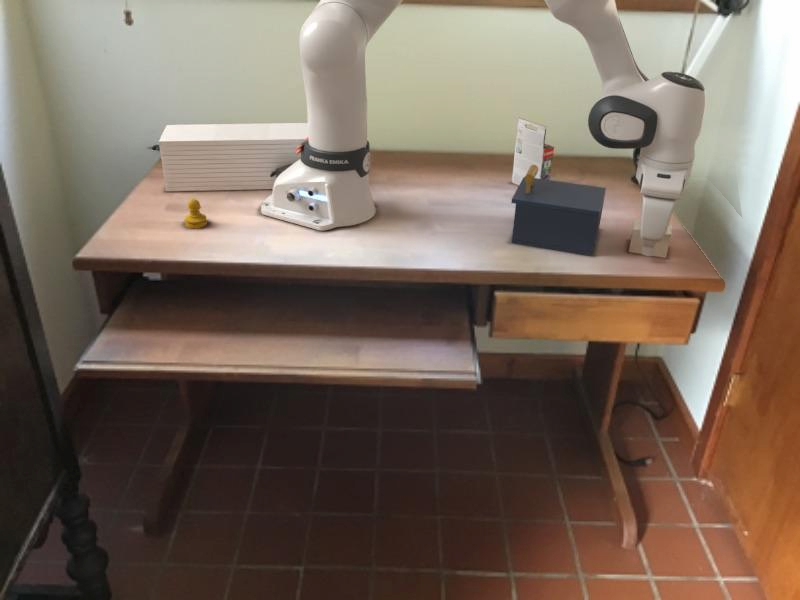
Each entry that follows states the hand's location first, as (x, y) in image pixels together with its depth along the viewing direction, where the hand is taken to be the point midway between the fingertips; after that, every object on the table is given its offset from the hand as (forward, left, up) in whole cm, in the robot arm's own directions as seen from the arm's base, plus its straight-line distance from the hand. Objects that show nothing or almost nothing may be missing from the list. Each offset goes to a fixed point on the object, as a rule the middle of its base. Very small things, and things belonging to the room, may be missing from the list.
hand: (648, 243), depth 136 cm
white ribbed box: (-83, +3, -2) cm, 84 cm away
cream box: (0, 0, -1) cm, 1 cm away
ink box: (-25, +22, -2) cm, 34 cm away
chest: (-16, 0, -1) cm, 17 cm away
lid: (-17, 0, +6) cm, 18 cm away
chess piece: (-81, -20, -2) cm, 84 cm away
